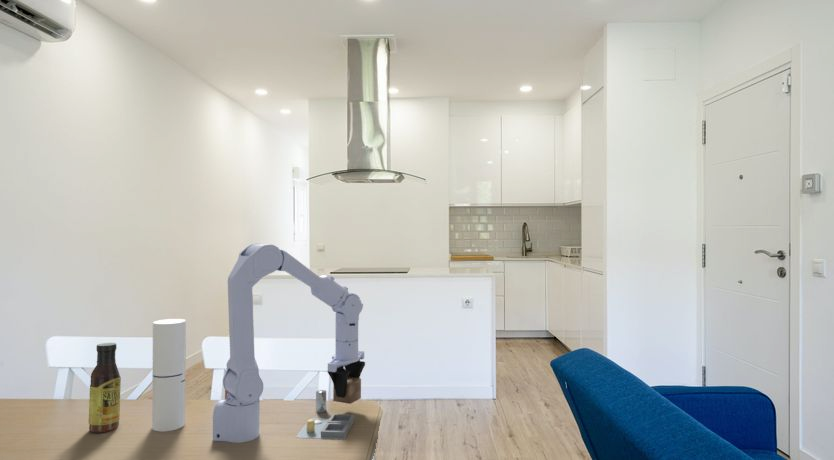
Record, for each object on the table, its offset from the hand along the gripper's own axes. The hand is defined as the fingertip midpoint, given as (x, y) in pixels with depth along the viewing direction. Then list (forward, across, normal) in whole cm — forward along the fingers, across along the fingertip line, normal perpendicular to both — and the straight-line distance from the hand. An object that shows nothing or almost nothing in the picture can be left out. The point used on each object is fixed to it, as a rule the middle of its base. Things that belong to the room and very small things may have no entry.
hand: (346, 393), depth 132 cm
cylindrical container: (+6, +23, -35) cm, 43 cm away
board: (+6, +11, +1) cm, 13 cm away
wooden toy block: (+2, 0, 0) cm, 2 cm away
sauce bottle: (+6, +31, -48) cm, 57 cm away
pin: (+6, +2, -6) cm, 9 cm away
